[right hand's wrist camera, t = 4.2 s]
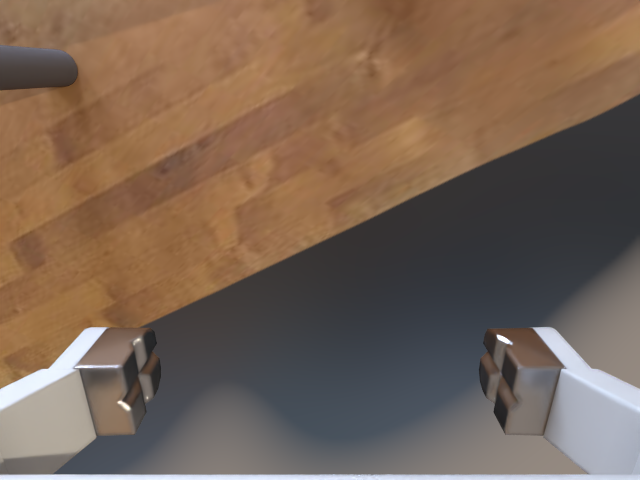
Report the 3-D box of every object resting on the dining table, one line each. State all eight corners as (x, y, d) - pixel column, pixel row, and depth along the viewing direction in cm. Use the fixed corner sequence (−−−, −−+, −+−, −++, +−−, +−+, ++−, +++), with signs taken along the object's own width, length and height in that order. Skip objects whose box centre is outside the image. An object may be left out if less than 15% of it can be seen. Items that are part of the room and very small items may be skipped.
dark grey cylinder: (45, 84, 53) (-93, 91, 35) (40, 47, 52) (-107, 35, 34) (79, 88, 53) (-42, 96, 36) (75, 51, 52) (-53, 41, 34)
